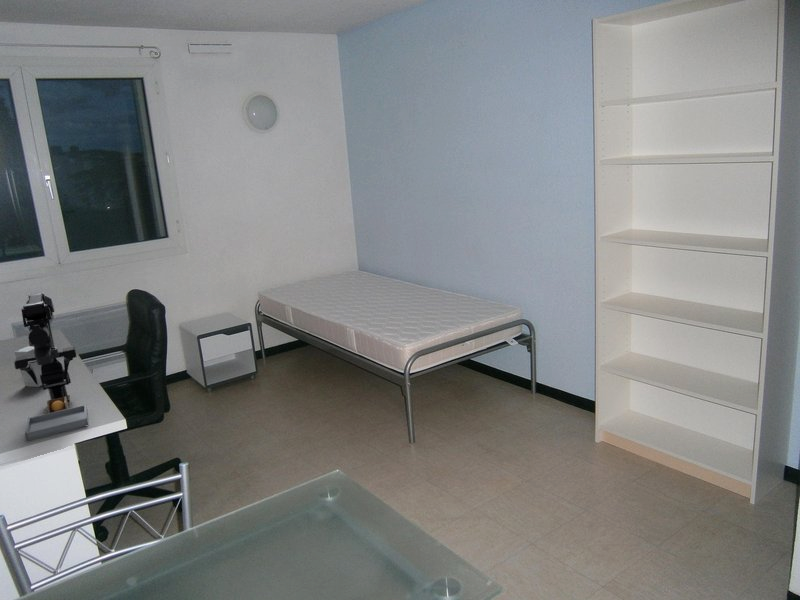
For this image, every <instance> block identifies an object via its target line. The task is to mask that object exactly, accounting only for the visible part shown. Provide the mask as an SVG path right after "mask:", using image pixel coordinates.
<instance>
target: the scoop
mask: <svg viewBox="0 0 800 600" xmlns="http://www.w3.org/2000/svg"><path fill="white" fill-rule="evenodd" d="M55 401H62V402H63V403H64V408H63V410H65V409H69V407H70V406H69V404H68V403H69V401H68V402H67V398H66V397H61V398H57V399H53V400H50V399H49V400H47V401H46V411H47V414H48V413H52V412H55V411H53V410H52V408H51V405H52V403H53V402H55Z"/></svg>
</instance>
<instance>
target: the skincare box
mask: <svg viewBox="0 0 800 600" xmlns="http://www.w3.org/2000/svg"><path fill="white" fill-rule="evenodd" d="M34 351H35V349H34V347H33V346H29V345H28V346H25V347H23V348H20V349H17V350H15V351H13V353H14V356H15V359H16V358H17V357H22V356H27V355H28V357H29V358H32V357H35V354H34ZM31 365H32V367H33V370H34V373H35V376H36V378H37V384H36V383H35V382H34V380H33V379H32V378H31V376H30V375H29V374H28V373H27V372H26V371H24V370H22V371H21V370H20V369H19V371H20V375H21V377H22V380H23V384H24V386H25V387H31V388H39V387H43V386H42V383H41V379H40V374H42V373H41V366H42V365H38V364H37V362H34V363H31Z"/></svg>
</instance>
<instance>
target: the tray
mask: <svg viewBox="0 0 800 600" xmlns="http://www.w3.org/2000/svg"><path fill="white" fill-rule="evenodd" d="M88 414H89V412H88V408H87V404H82V405H78V406H74V407H70V408H69V409H65V410H61V411H56V412H52V413H48V412H47V413H43V414H39V415H35V416H32V417H28V418H27V422H26V425H25V426H26V427H25V431H24V436H25V439H26V441H27V440H28V441H32V440H36V439H39V437H40V438H43V436H44V437H47V435H48V436H50V435H55V434H59V433H63V432H67V430H68V431H72V430H76V429H79V428H78V427H80V428H82V427H81V426H84V427H87V426H86V425H88V426H89V416H88ZM75 428H76V429H75ZM71 429H72V430H71ZM35 438H36V439H35ZM31 439H32V440H31Z"/></svg>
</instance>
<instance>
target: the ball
mask: <svg viewBox="0 0 800 600" xmlns="http://www.w3.org/2000/svg"><path fill="white" fill-rule="evenodd" d="M51 408H52V410H53V411H55V412H56V411H61V410H63V408H64V403H63V402H62V401H55V402H53V403H52V405H51Z"/></svg>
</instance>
